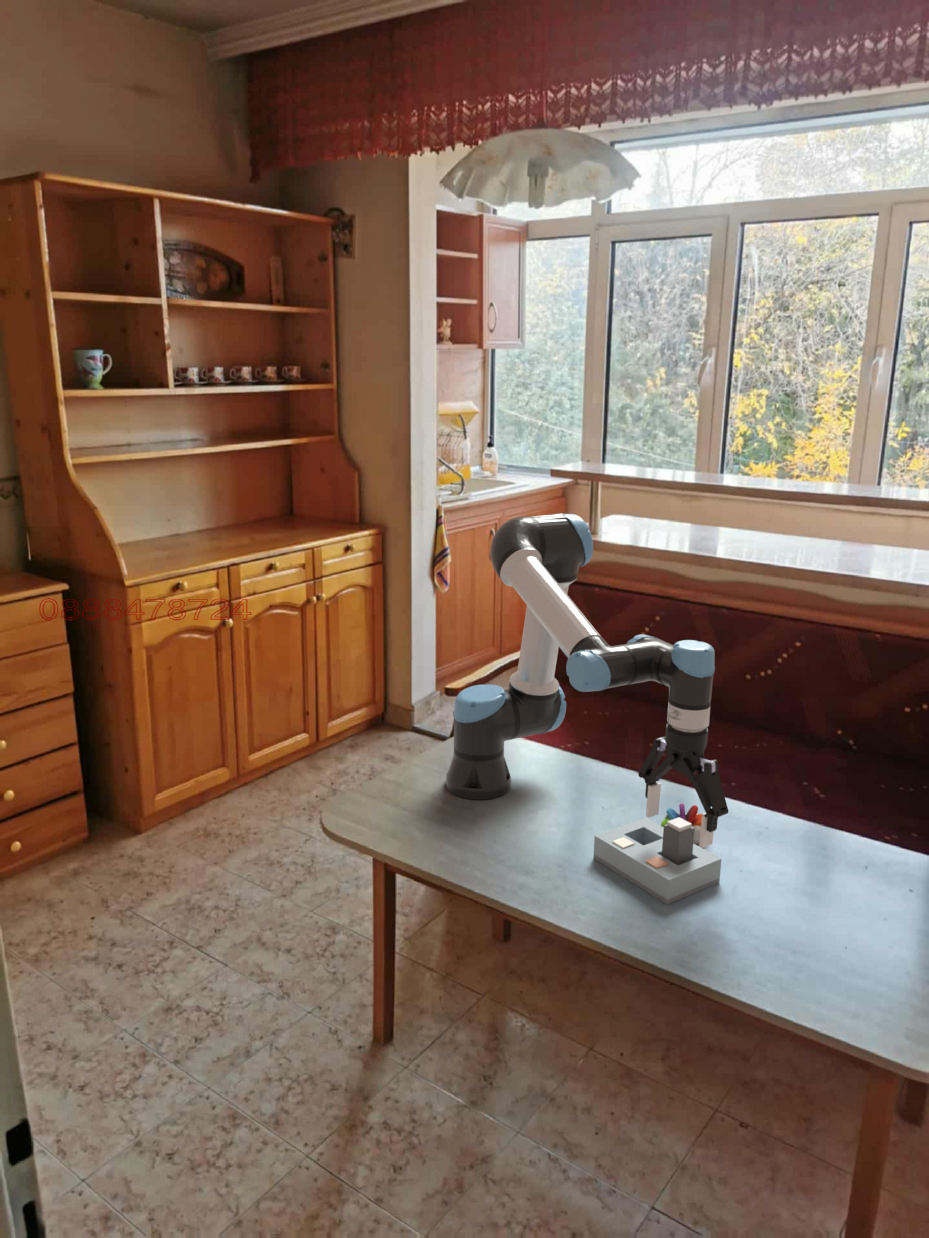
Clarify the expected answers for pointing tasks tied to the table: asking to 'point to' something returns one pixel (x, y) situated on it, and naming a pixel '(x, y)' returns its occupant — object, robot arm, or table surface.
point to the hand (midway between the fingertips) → (678, 829)
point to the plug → (678, 841)
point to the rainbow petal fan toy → (689, 817)
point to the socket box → (654, 861)
